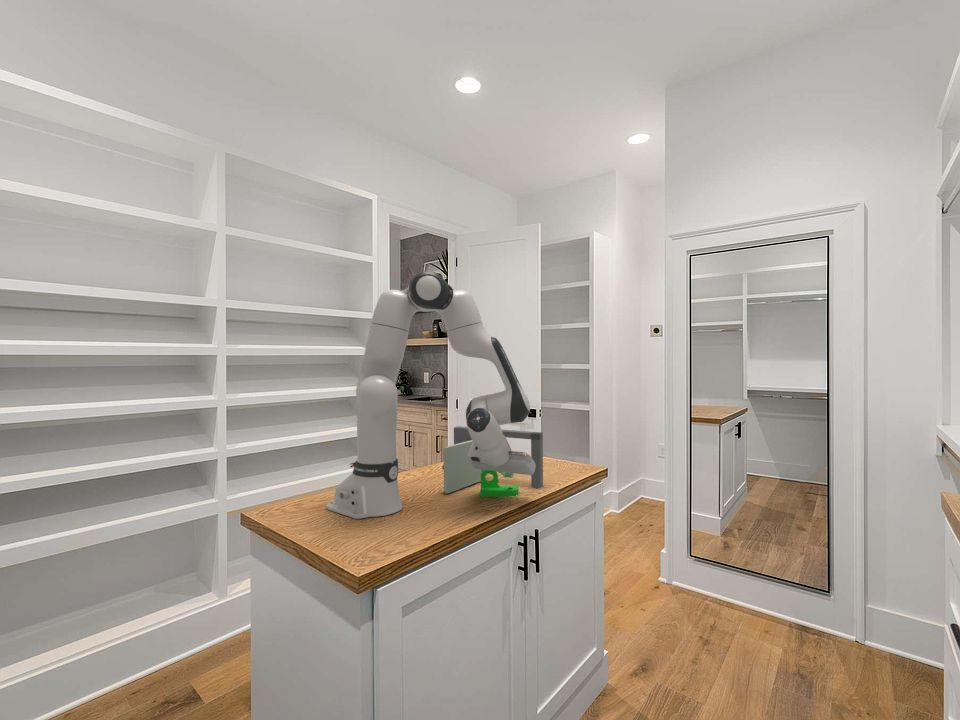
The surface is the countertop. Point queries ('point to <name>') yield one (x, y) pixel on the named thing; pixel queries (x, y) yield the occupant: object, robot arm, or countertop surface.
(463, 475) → the door
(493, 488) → the mechanical part
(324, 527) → the countertop surface
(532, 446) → the wall frame
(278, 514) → the countertop surface
